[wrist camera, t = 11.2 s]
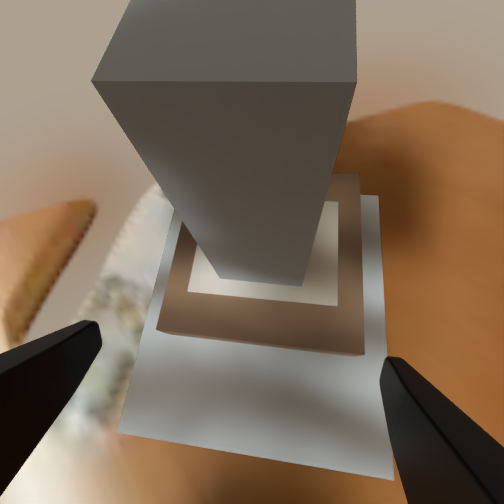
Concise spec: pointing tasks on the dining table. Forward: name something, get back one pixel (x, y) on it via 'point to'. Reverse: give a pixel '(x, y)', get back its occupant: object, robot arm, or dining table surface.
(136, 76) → the post
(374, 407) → the plinth
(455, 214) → the dining table surface
